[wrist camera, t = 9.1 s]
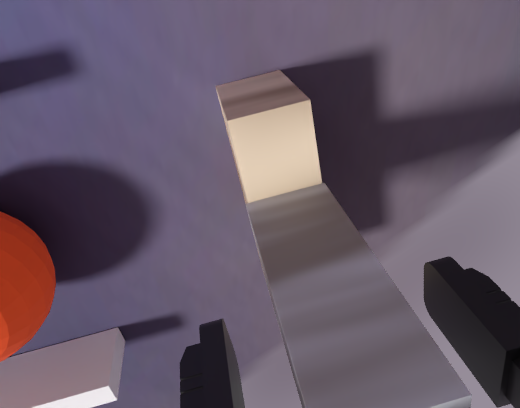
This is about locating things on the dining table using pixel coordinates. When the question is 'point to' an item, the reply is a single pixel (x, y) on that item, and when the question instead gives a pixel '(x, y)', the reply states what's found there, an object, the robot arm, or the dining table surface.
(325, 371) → the silver bent metal strip
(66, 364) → the box
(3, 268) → the clementine
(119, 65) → the dining table surface
